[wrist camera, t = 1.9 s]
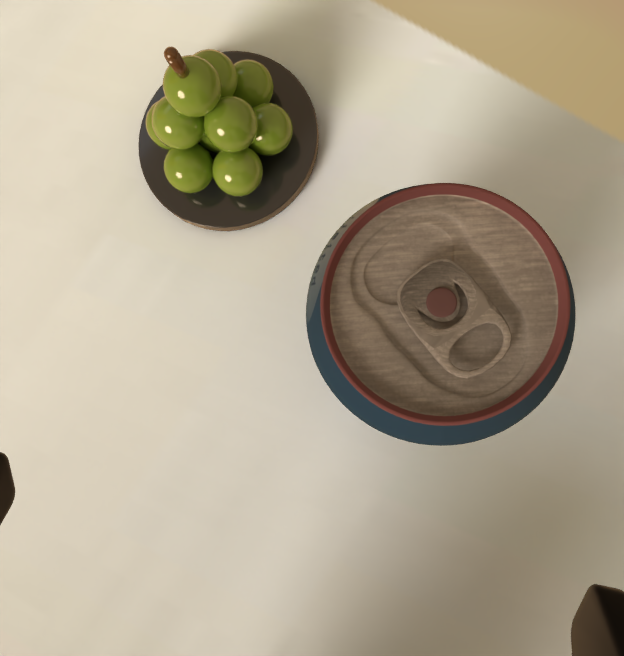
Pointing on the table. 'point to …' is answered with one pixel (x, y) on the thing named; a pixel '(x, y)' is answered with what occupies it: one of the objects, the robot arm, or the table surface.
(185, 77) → the grapes
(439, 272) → the soda can
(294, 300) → the table surface
